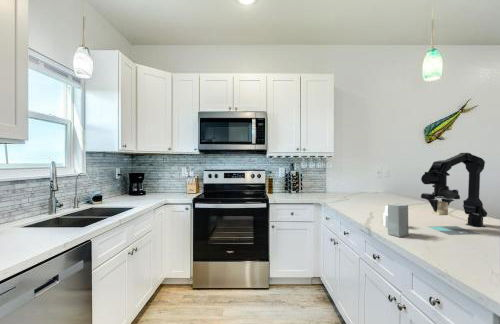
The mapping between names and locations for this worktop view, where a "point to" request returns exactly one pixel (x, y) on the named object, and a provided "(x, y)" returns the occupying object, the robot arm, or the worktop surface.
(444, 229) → the mat
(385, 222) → the medicine bottle
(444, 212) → the maple block
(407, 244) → the worktop surface
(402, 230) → the skincare box
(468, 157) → the robot arm
